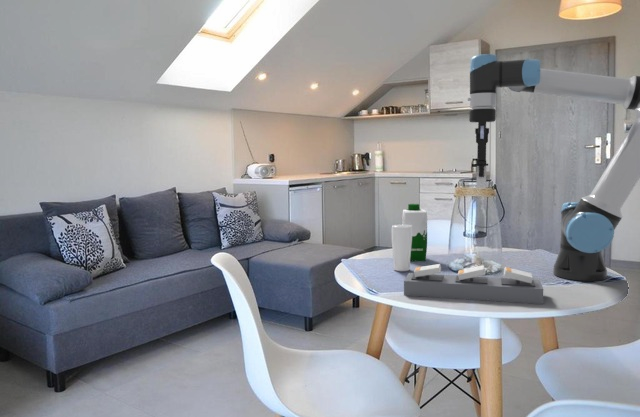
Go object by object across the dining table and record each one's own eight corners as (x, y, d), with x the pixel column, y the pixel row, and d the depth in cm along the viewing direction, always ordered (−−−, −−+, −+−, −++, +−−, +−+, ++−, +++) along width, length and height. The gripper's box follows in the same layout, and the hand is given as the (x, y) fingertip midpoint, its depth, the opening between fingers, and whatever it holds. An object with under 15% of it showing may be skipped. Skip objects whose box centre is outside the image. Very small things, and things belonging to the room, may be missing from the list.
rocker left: (441, 269, 153) (440, 263, 153) (439, 273, 148) (438, 267, 148) (417, 272, 155) (415, 267, 155) (415, 277, 150) (413, 271, 150)
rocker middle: (485, 270, 149) (483, 264, 149) (485, 274, 145) (483, 268, 145) (460, 275, 152) (458, 270, 152) (459, 280, 147) (457, 274, 147)
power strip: (539, 293, 148) (539, 276, 148) (542, 304, 139) (543, 285, 138) (408, 286, 159) (408, 269, 158) (403, 295, 149) (403, 277, 149)
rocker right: (529, 278, 146) (531, 272, 146) (531, 283, 142) (533, 277, 141) (503, 272, 148) (505, 266, 148) (504, 276, 143) (505, 270, 143)
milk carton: (424, 256, 200) (424, 203, 198) (428, 261, 191) (429, 206, 189) (401, 256, 200) (401, 203, 198) (403, 262, 192) (404, 206, 189)
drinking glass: (387, 270, 180) (387, 225, 178) (400, 266, 184) (400, 223, 182) (402, 273, 175) (402, 228, 173) (416, 270, 179) (416, 225, 177)
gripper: (470, 110, 167) (468, 185, 169) (468, 107, 154) (467, 189, 157) (495, 109, 164) (493, 186, 167) (496, 106, 152) (494, 189, 155)
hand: (481, 187), depth 162 cm, fingers closed
